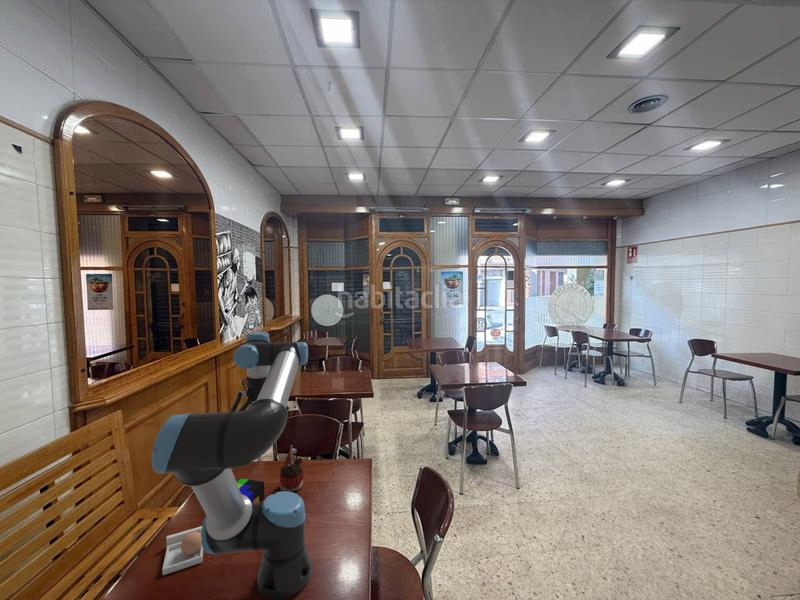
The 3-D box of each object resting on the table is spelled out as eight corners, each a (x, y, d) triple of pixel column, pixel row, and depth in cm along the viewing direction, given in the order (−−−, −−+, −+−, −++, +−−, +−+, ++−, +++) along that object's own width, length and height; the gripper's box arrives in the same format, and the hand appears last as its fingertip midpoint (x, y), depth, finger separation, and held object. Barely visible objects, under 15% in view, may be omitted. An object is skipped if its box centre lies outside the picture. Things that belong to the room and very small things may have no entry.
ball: (192, 562, 105) (206, 543, 107) (175, 555, 103) (189, 536, 104) (194, 548, 110) (207, 531, 112) (177, 542, 108) (191, 524, 110)
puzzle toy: (248, 524, 121) (247, 497, 121) (223, 520, 123) (223, 494, 122) (264, 506, 131) (264, 481, 130) (241, 503, 133) (241, 478, 132)
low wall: (208, 536, 115) (208, 526, 115) (166, 549, 109) (166, 538, 109) (208, 533, 116) (208, 524, 116) (167, 546, 111) (166, 536, 110)
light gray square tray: (202, 562, 104) (202, 556, 104) (162, 575, 100) (162, 569, 99) (203, 540, 113) (203, 535, 113) (167, 551, 109) (167, 546, 108)
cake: (289, 496, 137) (289, 453, 136) (274, 489, 141) (273, 448, 141) (309, 483, 146) (308, 443, 145) (293, 477, 151) (293, 438, 150)
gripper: (292, 369, 129) (293, 423, 130) (219, 377, 117) (220, 437, 118) (296, 373, 122) (297, 431, 123) (218, 383, 111) (220, 446, 111)
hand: (259, 434), depth 121 cm, fingers open, 13 cm apart
